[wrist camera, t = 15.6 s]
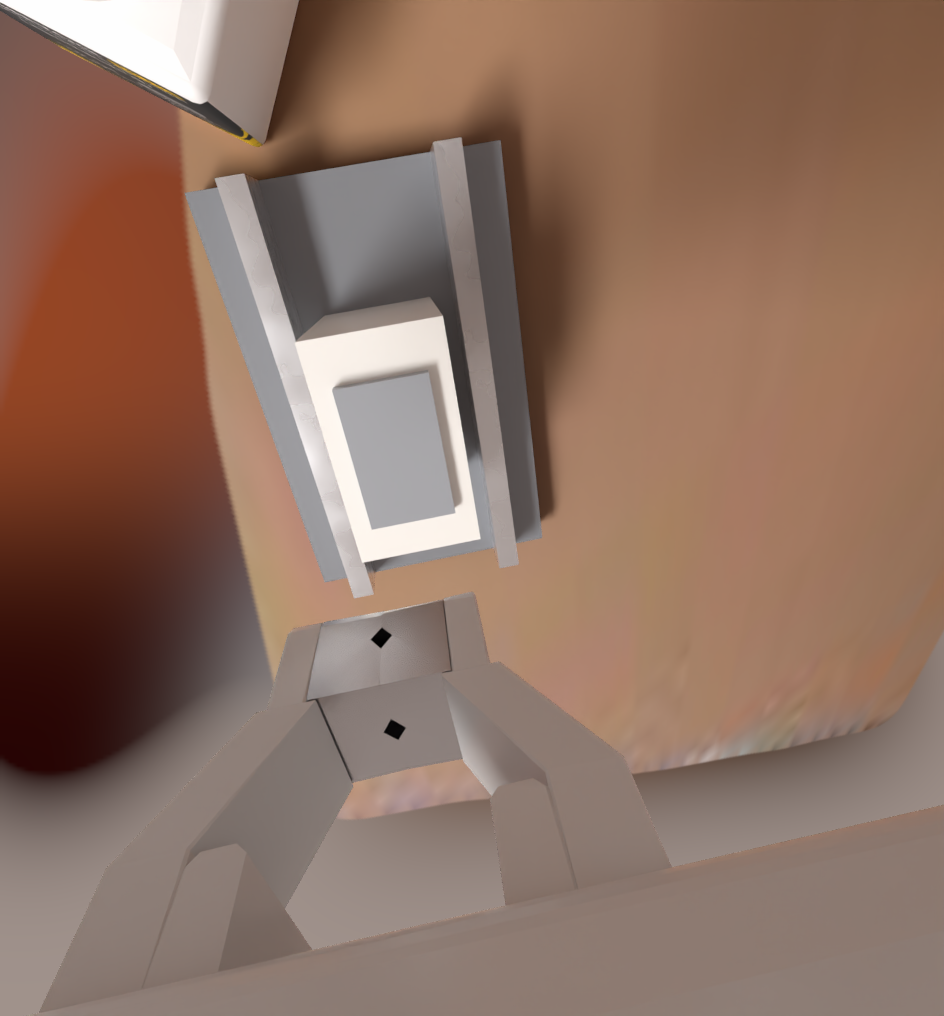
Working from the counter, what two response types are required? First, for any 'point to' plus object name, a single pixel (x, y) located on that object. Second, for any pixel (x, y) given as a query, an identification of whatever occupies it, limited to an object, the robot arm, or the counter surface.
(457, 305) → the din rail
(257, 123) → the medicine bottle
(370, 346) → the din module
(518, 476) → the rail base
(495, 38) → the counter surface
